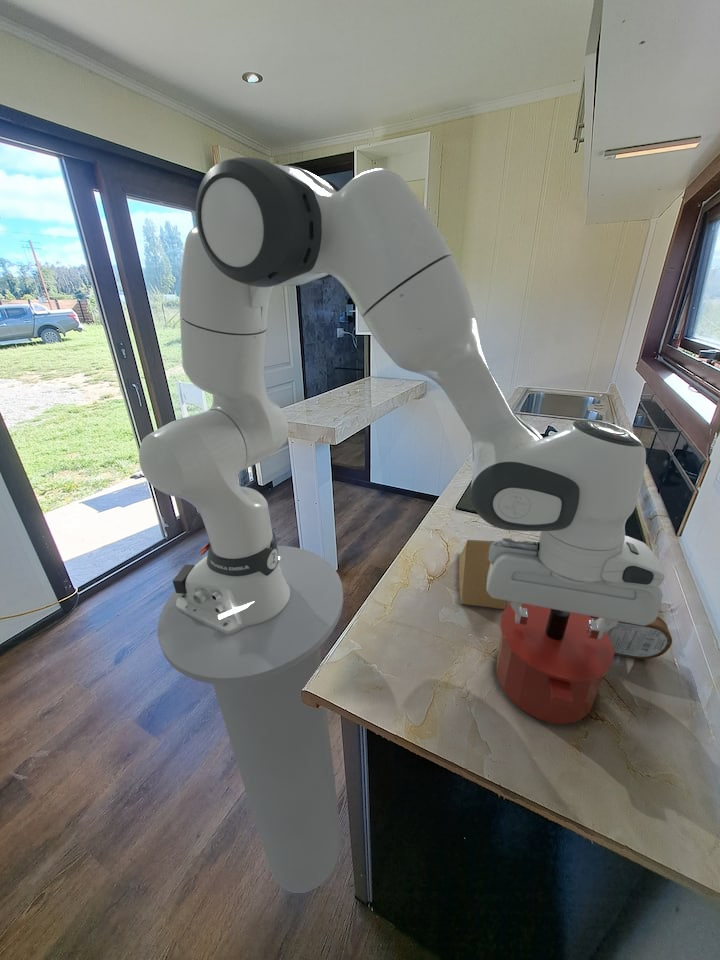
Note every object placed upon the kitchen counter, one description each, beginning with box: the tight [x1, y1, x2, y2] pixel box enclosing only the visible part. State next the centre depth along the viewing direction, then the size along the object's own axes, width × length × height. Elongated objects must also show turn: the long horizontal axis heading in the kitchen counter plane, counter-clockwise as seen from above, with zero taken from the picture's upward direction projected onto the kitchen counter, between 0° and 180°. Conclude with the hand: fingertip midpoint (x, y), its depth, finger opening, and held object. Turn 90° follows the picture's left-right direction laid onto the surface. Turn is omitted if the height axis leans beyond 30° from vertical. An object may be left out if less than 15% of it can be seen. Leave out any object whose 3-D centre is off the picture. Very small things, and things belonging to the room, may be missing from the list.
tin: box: [590, 615, 673, 660], centre depth 62 cm, size 15×3×8 cm, turn 73°
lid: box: [499, 603, 615, 682], centre depth 54 cm, size 15×15×6 cm
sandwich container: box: [458, 539, 507, 610], centre depth 77 cm, size 9×15×15 cm, turn 168°
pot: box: [495, 633, 604, 725], centre depth 57 cm, size 14×19×10 cm
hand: (555, 628), depth 54 cm, fingers open, 8 cm apart
